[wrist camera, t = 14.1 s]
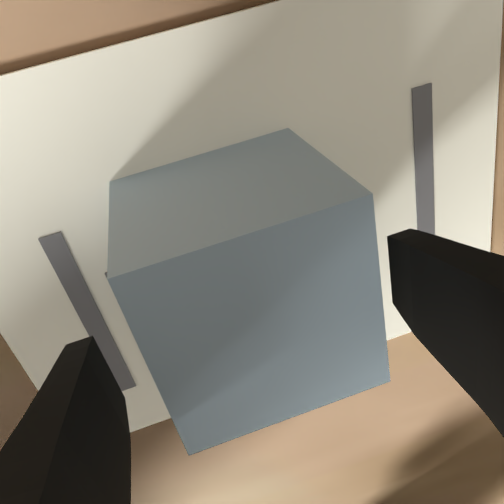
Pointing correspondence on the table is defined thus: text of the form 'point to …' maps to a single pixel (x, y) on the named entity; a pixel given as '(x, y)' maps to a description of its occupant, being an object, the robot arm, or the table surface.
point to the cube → (249, 284)
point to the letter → (234, 131)
